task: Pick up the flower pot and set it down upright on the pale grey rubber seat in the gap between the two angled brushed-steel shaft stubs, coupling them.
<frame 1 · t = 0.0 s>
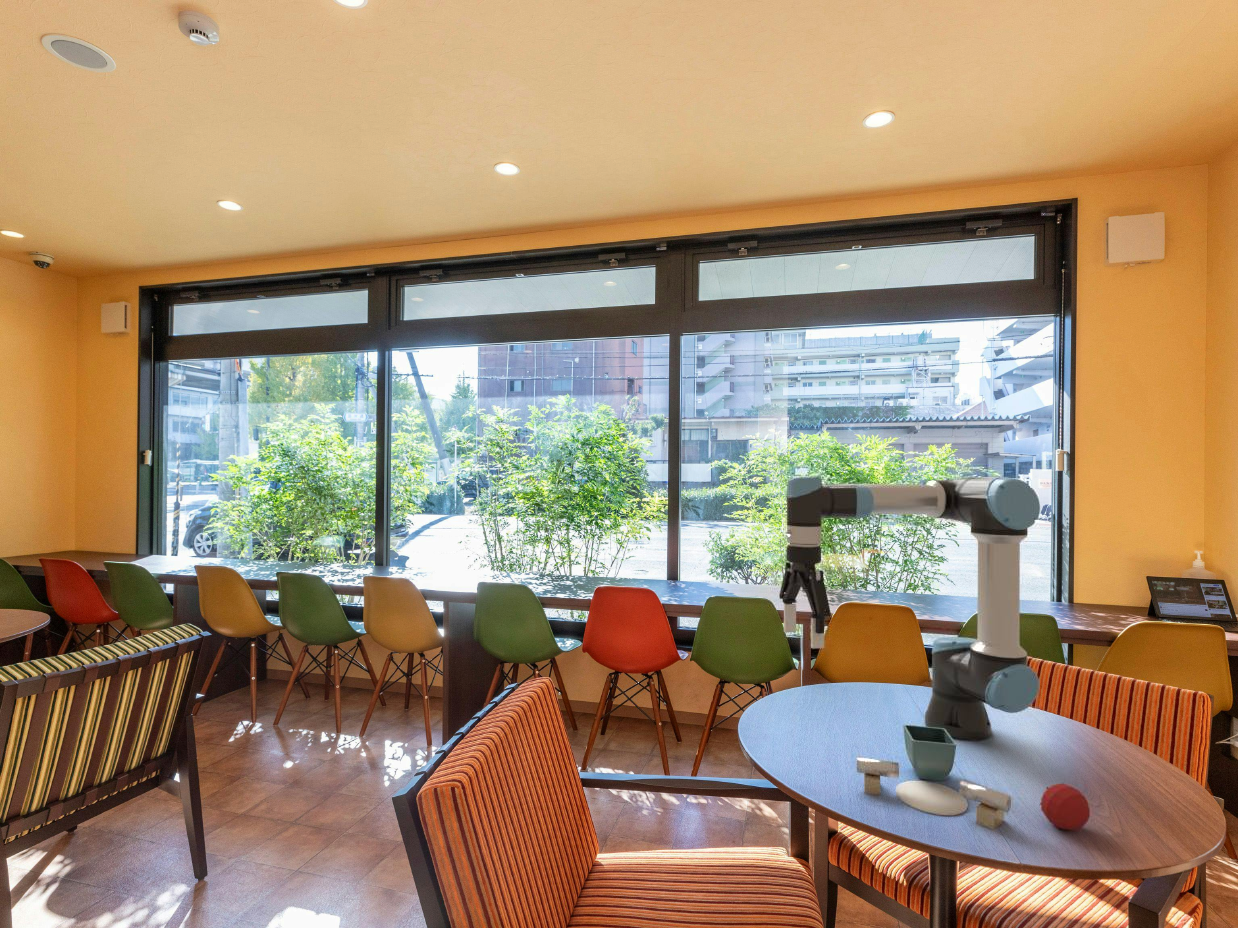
hand: (803, 639, 143), 28 cm above the table, fingers open, 13 cm apart
shaft b: (984, 819, 121), on the table
seat pad: (930, 798, 129), on the table
tomato: (1063, 827, 119), on the table
flower pot: (928, 776, 139), on the table
shaft a: (877, 789, 132), on the table
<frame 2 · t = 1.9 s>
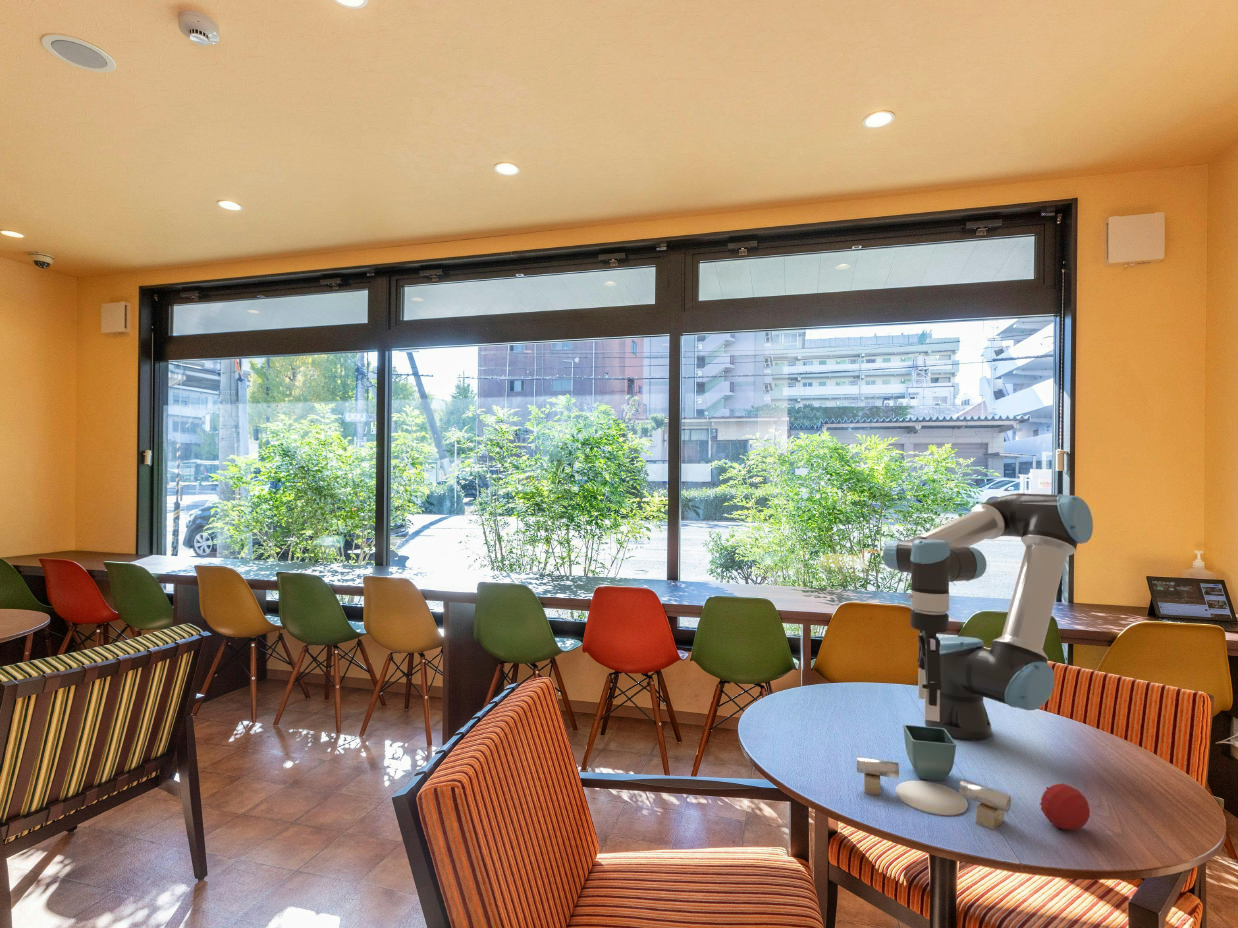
hand: (928, 708, 139), 14 cm above the table, fingers open, 13 cm apart
nothing on the table moved.
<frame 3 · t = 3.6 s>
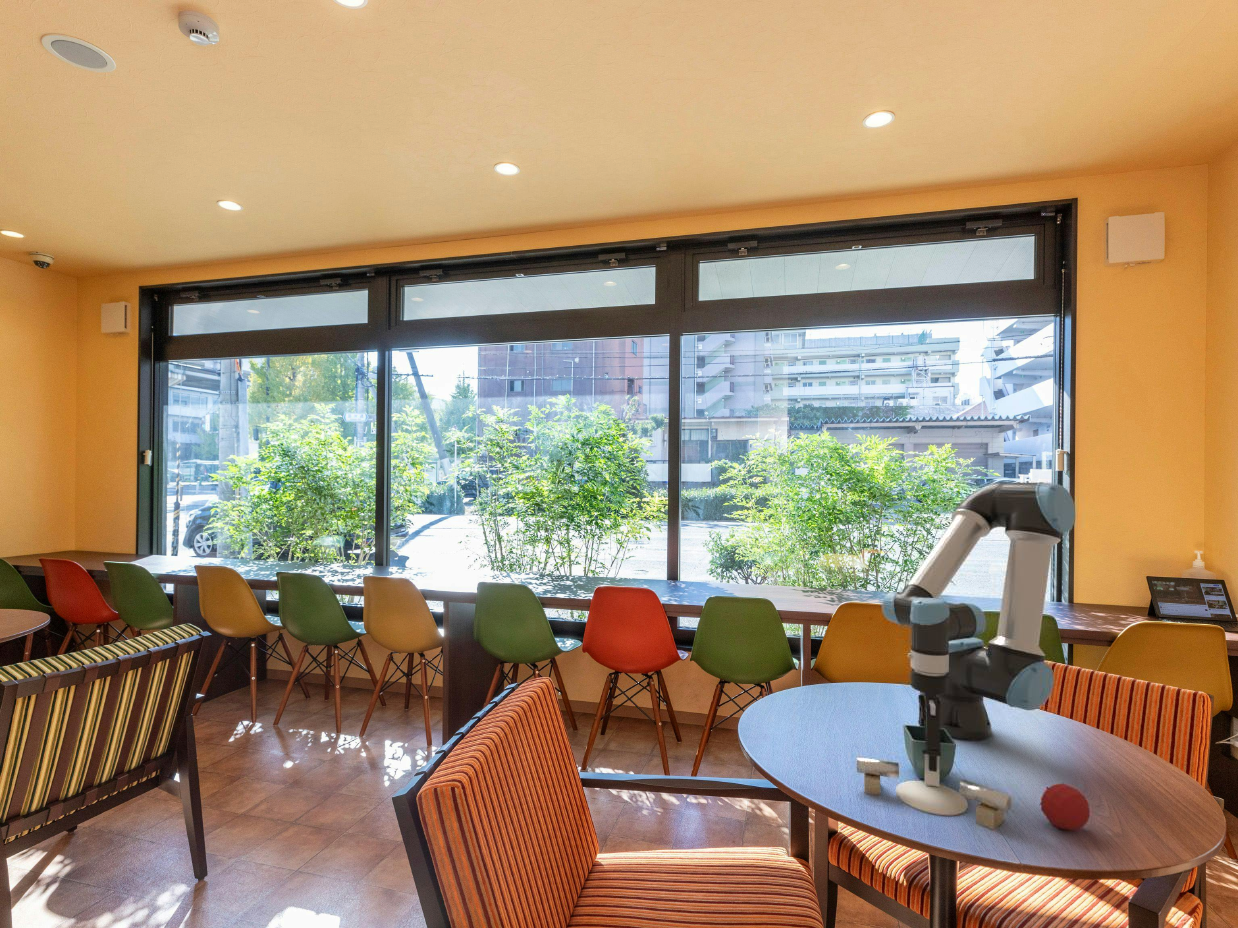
hand: (928, 772, 139), 1 cm above the table, fingers open, 11 cm apart
nothing on the table moved.
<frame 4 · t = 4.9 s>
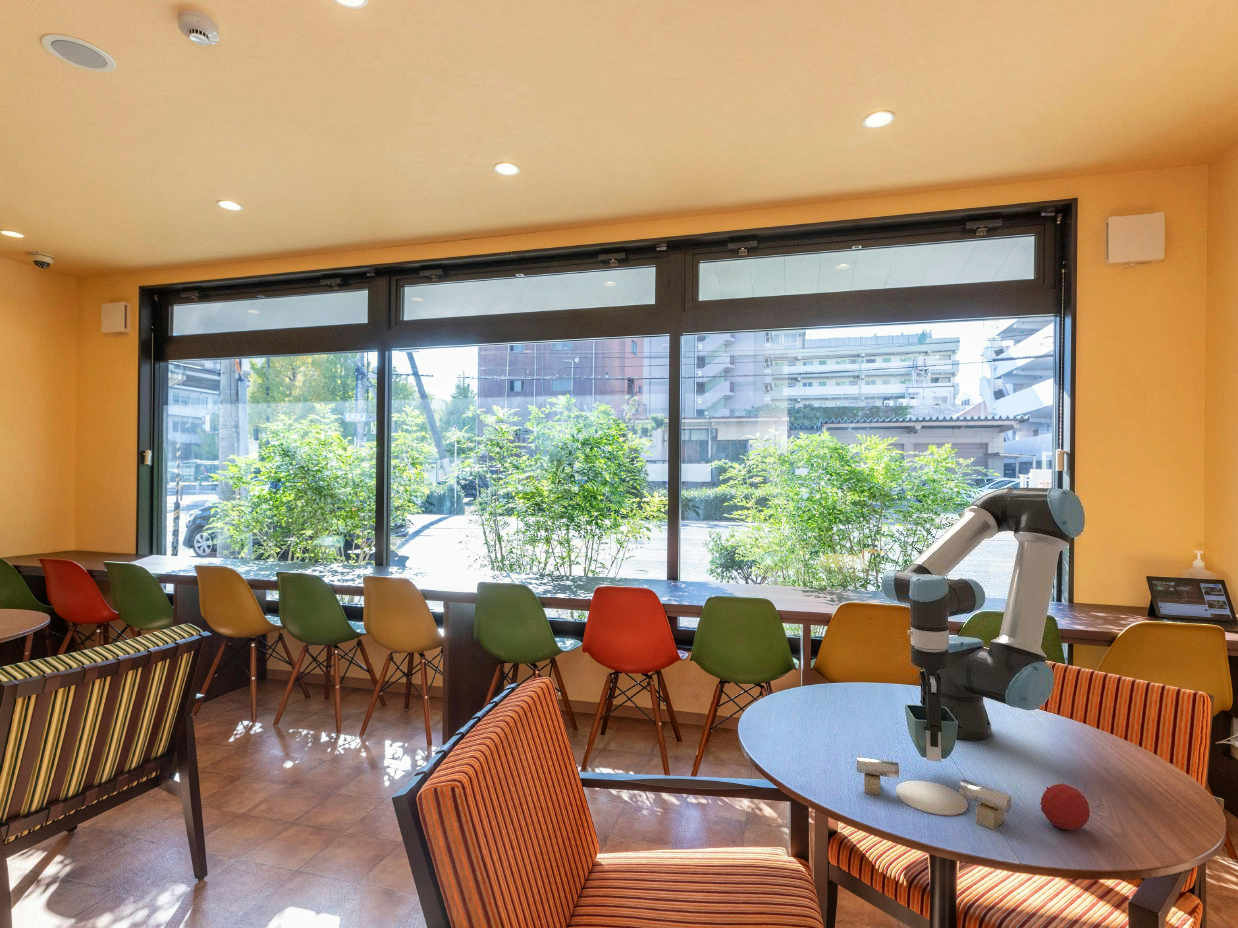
hand: (931, 750, 139), 5 cm above the table, fingers closed on flower pot, 9 cm apart
flower pot: (931, 754, 139), point 4 cm above the table, touching gripper
everything else where it was.
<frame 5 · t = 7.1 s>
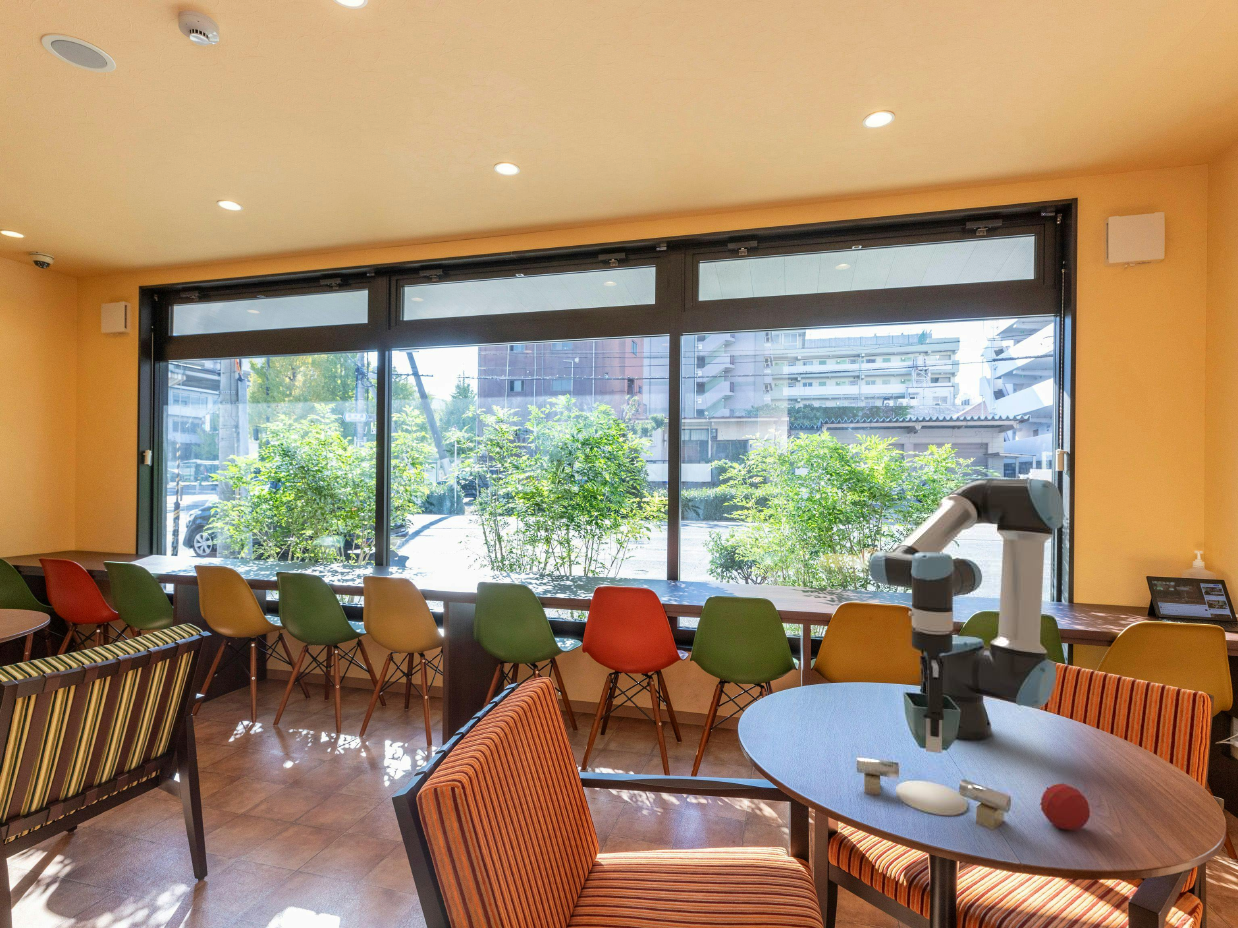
hand: (930, 741, 129), 11 cm above the table, fingers closed on flower pot, 9 cm apart
flower pot: (930, 746, 129), point 10 cm above the table, touching gripper
everything else where it was.
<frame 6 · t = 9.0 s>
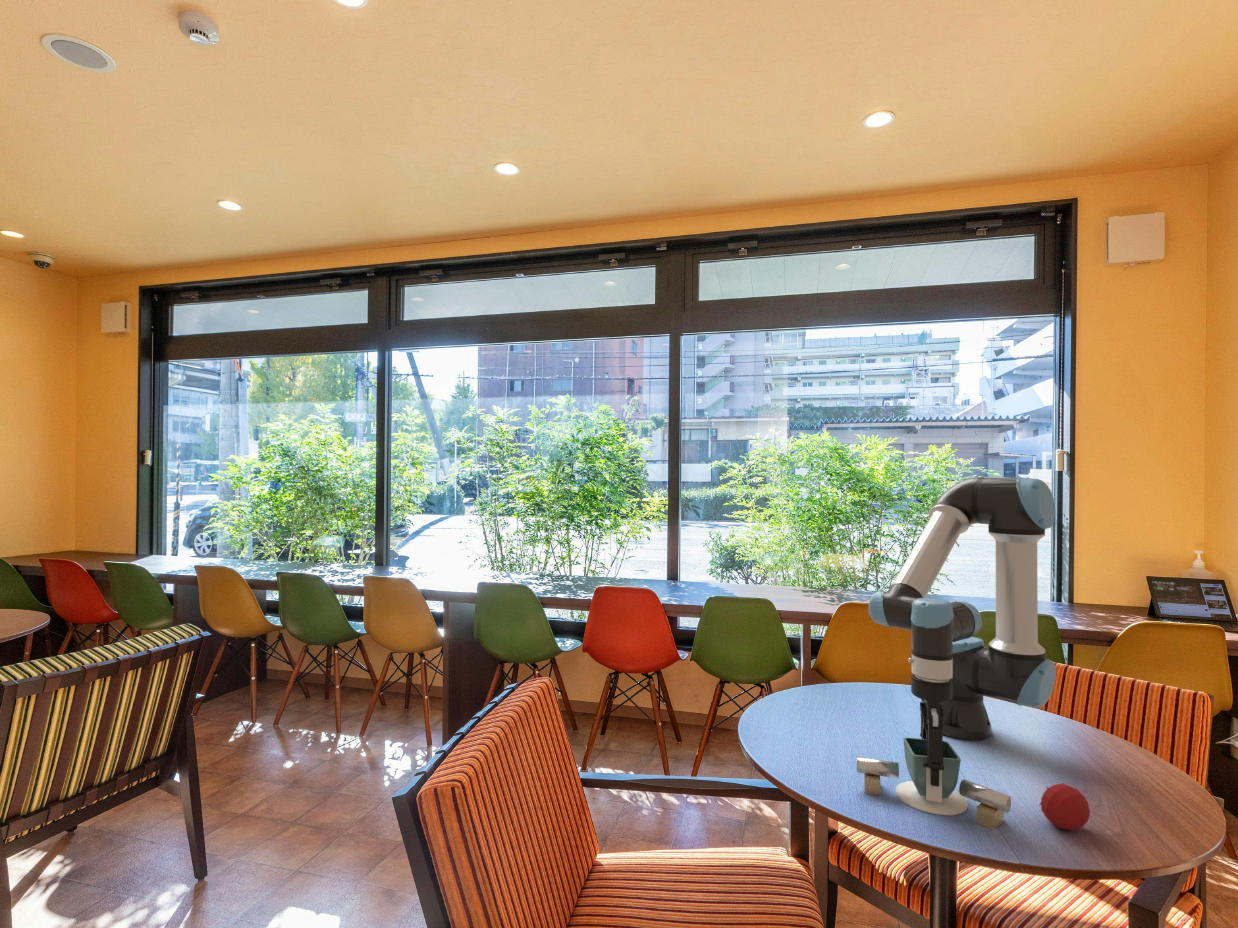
hand: (931, 788, 129), 2 cm above the table, fingers closed on flower pot, 9 cm apart
flower pot: (930, 793, 129), point 1 cm above the table, touching gripper
everything else where it was.
when the fingers open (2 cm above the table, at t = 9.6 s): flower pot moves 2 cm, resting on seat pad.
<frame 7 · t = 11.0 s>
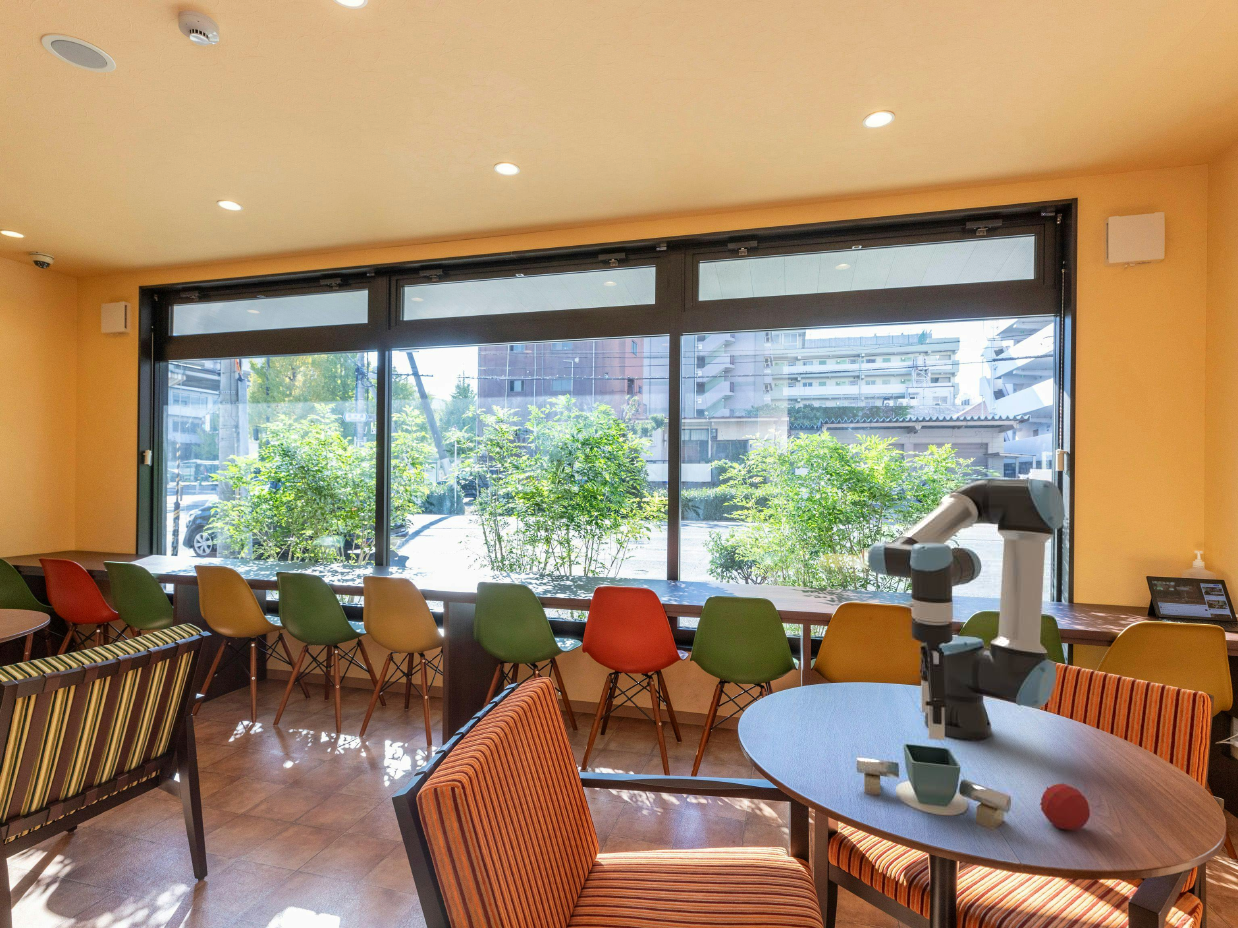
hand: (932, 725, 129), 15 cm above the table, fingers open, 13 cm apart
flower pot: (930, 800, 128), resting on seat pad
everything else where it was.
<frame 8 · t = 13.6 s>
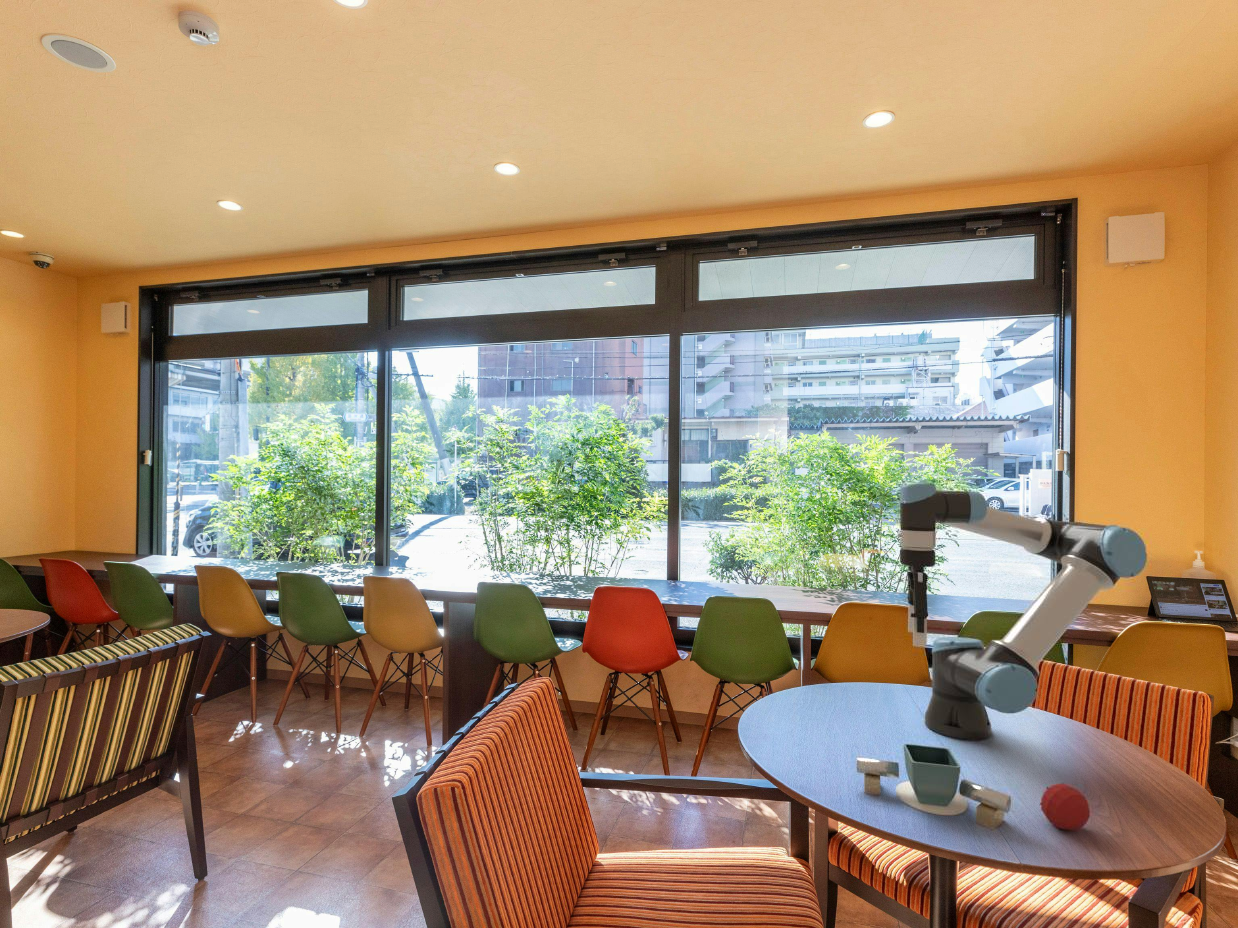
hand: (916, 639, 150), 27 cm above the table, fingers open, 13 cm apart
nothing on the table moved.
at the end: flower pot inside the target area (1.5 cm from its centre), resting on seat pad; flower pot tilted 0°; the gripper is holding nothing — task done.
